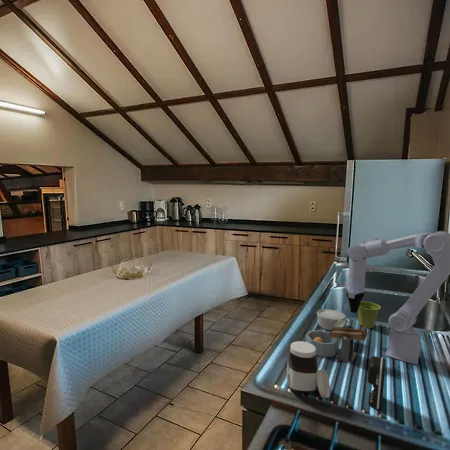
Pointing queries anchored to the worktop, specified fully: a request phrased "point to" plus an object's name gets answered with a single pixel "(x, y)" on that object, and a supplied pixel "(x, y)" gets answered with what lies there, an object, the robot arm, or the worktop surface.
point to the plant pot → (368, 314)
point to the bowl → (324, 348)
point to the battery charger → (376, 381)
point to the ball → (318, 339)
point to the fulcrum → (347, 350)
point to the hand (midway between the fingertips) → (354, 312)
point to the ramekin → (329, 318)
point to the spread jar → (306, 370)
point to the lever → (347, 331)
